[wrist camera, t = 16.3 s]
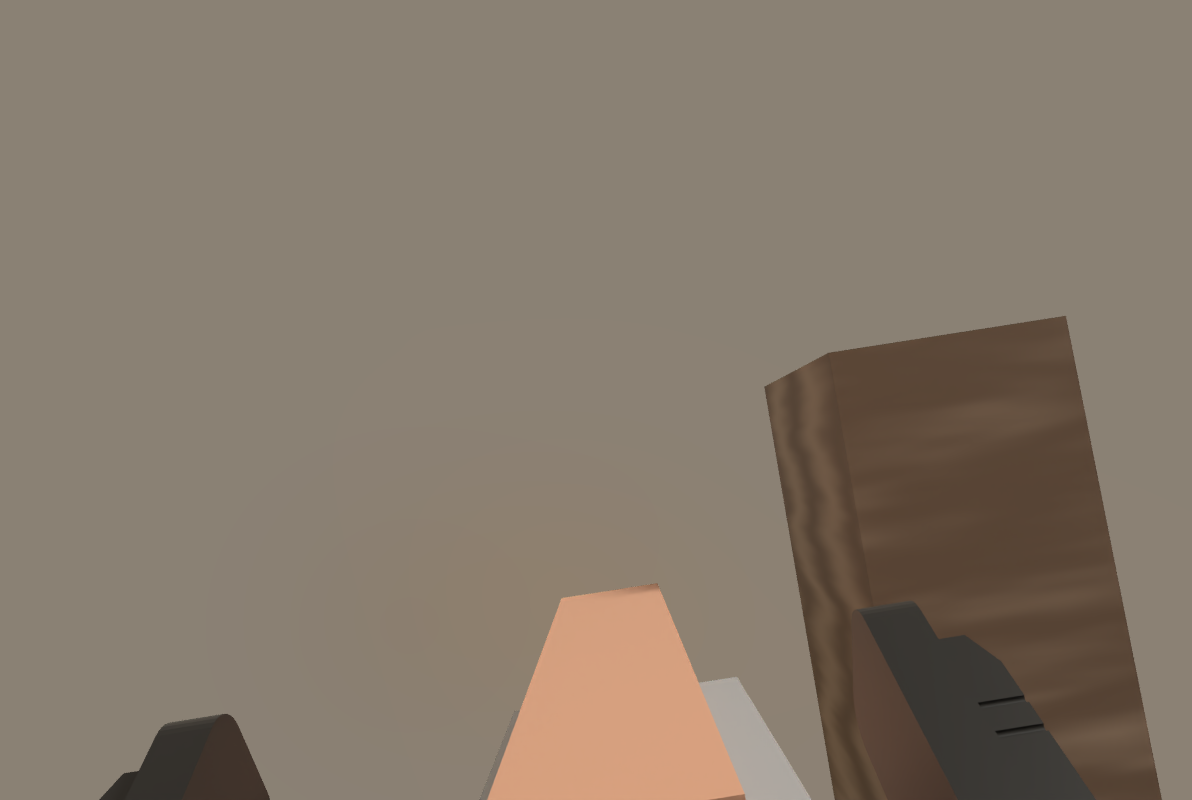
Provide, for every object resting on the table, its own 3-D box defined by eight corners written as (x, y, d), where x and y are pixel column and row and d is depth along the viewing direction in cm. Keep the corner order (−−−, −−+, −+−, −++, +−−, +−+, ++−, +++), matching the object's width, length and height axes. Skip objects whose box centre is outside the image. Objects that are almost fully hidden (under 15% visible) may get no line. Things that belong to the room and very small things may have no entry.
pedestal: (855, 1005, 46) (751, 389, 48) (1053, 975, 46) (938, 360, 48) (978, 1273, 30) (816, 353, 33) (1274, 1228, 30) (1090, 310, 33)
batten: (572, 671, 37) (561, 597, 37) (668, 656, 37) (657, 583, 37) (503, 1050, 13) (473, 836, 13) (779, 1007, 13) (744, 793, 13)
